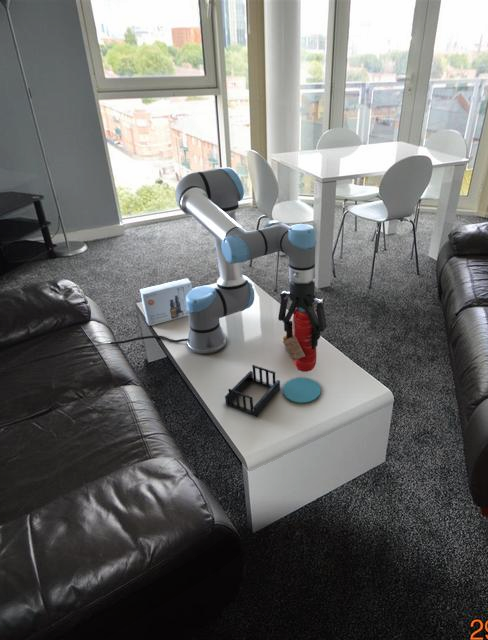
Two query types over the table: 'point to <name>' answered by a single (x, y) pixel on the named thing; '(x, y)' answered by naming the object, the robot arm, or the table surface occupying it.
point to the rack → (259, 405)
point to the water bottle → (301, 342)
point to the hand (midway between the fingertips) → (301, 343)
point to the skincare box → (165, 301)
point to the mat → (301, 390)
